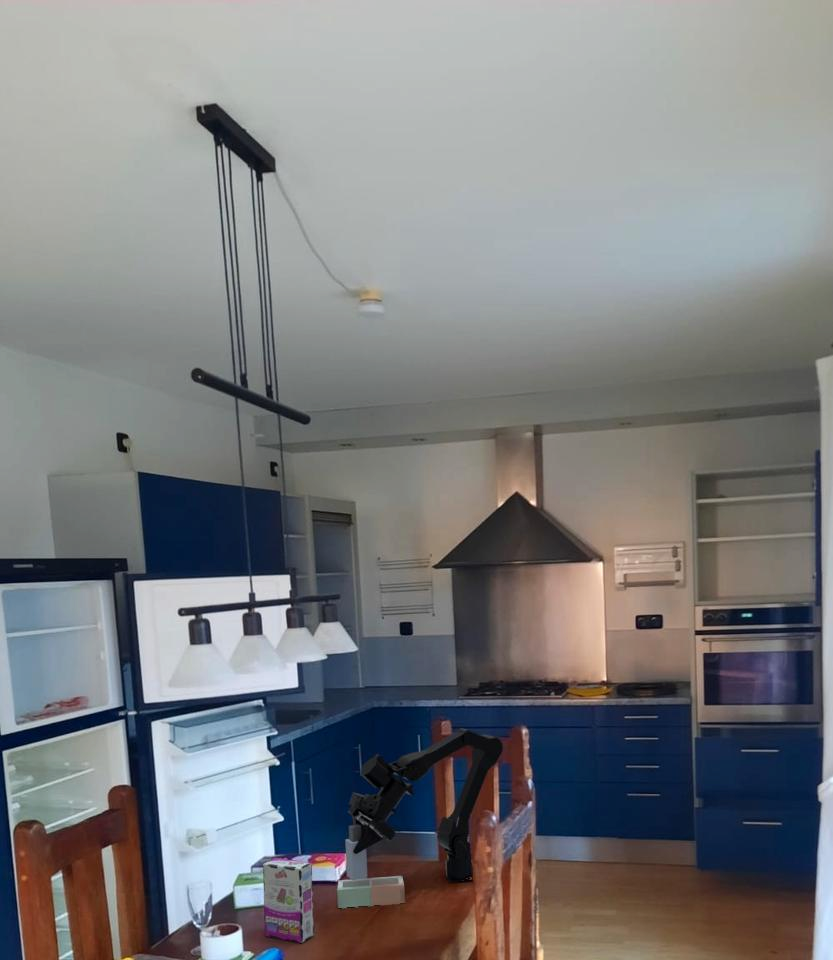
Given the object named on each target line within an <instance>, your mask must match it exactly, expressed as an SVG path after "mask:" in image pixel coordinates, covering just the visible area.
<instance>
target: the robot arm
mask: <svg viewBox="0 0 833 960" xmlns="http://www.w3.org/2000/svg"><path fill="white" fill-rule="evenodd" d="M466 746H467V747H470V748H472V749H471V759H472V761H471V767H470V769H469V771H468V774H467V776H466V778H465V781H464V783H463V786H462V789H461V791H460V794H459V797H458V799H457V801H456V804H455V806H454V809H453V812H452V813H450V815H449V816H448V817H447V816H442V818H441V821H440V824H439V826H438V828H437V829H436V831H437V836H436V837H437V841H438V843H439V845H440V846H441V847H442V848H443V851H444V852H445V853H447V854H446V855H447V856H446V857H447V858H446V859H445V871H446V872H445V874H446V878H447V879H448V880H449V883H458V882H459V881H462V880H469V879H470V878H469V877H472V881H471V882H473V881H474V880H473V878H474V877H473V865H472V864H473V862H472V863H471V860H472V857H471V854H470V844H471V843H470V842H469V841H468V840H469V836H470V818H471V816H470V814H471V815H472V814H473V812H474V808H475V806H476V804H477V801H478V799H479V795H480V793H481V790H482V788H483V785H484V783H485V781H486V777H487V775H488V773H489V771H490V769H492V768H493V767H494V766H495V765H496V764H497V763H498V761H499V759H500V758H501V755H502V754H503V752H504V751H503V750H504V746H503V743H502V740H501V739H500V738H497V737H494V736H491V735H488V734H477V733H475V732H472V730H469V729H466V728H458V729H457V730H455V732H453V733H451V734H450V735H448V736H446V737H445V738H443V739H441V740H439V741H437V742H435V743H434V744H432V745H430V746H429V747H427V748H426V749H423V750H421V751H420V750H419V751H414V752H411V753H408V754H405V755H402V756H400V757H398V759H397V760H395V761H394V762H390V763H388V762H387V761H385V759H384V757H382V756H381V755H380V754H377V753H376V754H375V755H374V757H371V758H369V759H368V760H367V761H366V762H365V763H364V764H363V765H362V767H361V769H360V775H361V776H362V777H363V778H364V779H365V780H366V781H368V782H369V783H370V784H371V785H372V786H373V787H374V788H375V789H379V788H381V789H380V790H379V792H378V793H377V794H375V793H372V795H369V794H368V793H365V794H364V795H363V794H360V793H358V792H357V793H356V792H355V791H353V792H352V793H351V797H350V799H349V802H348V805H349V806H350V807H349V809H348V810H347V812H348V813H349V815H351V819H352V823H353V824H352V825H355V824H358V825H360V826H361V838H360V839H359V841H358V843H357V845H356V846H355V848H354V850H353V852H354V853H355V854H358V853H359V852H361V851H363V850H364V849H366V850H367V849H368V848H370V847H371V846H373V845H375V844H377V843H379V842H380V841H381V842H382V841H384V838H383V837H385V839H386V840H387V841H389V842H392V841H393V840H394V839H395V837H396V829H394V827H392V826H391V825H390V824H389V823H388V822H387V819H388V818H389V817H390V816H391V815H392V814H393V815H395V814H396V812H397V810H396V807H397V806H398V804H399V803H400V802H401V800H402V799H403V797H404V796H405V795H406V794H407V795H409V796H413V797H414V794H415V792H414V788H413V787H414V784H412V783H410V782H417V781H419V780H420V779H422V778H423V777H424V776H425V775H426V774H427V773H428V772H429V771H430V770H431V768H432V767H433V766H434V765H435V764H437V763H439V762H440V761H442V760H443V759H445V758H448V757H449V756H451V755H452V754H454V753H456V752H457V751H459V750H462V748H464V747H466ZM394 775H395V776H397V777H395V776H394ZM402 778H403V779H405V780H407V781H410V782H409V783H407V782H406V781H404V780H403V779H402ZM466 878H468V879H466ZM462 882H463V881H462Z"/></svg>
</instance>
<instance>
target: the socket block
mask: <svg viewBox="0 0 833 960" xmlns="http://www.w3.org/2000/svg"><path fill="white" fill-rule="evenodd" d="M336 891H337V892H336V893H337V909H338V908H342V909H348V908H347V907H355V908H359V907H358V906H368V907H375V906H374V905H381V906H390V905H391V906H393V904H394V905H401V904H400V903H405V904H406V901H405V900H406V899H405V898H406V896H405V895H406V894H405V882H404V880H403V875H394V876H393V875H392V876H382V877H369V878H368V877H366V878H362V879H358V880H352V879H342V880H341V879H338V882H337V890H336Z"/></svg>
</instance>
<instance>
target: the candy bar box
mask: <svg viewBox="0 0 833 960" xmlns="http://www.w3.org/2000/svg"><path fill="white" fill-rule="evenodd" d="M312 866H313V863H312V862H309V861H308V862H307V861H301V860H295V859H294V860H292V859H285V858H277V857H275V858H272V859H270V860H268V861H266V862H264V863H263V864H262V872H263V873H262V874H263V877H262V879H263V912H264V913H263V915H264V918H263V919H264V920H263V921H264V936H265V937H268V938H273V939H278V940H282V941H283V940H284V941H288V942H294V943H300V944H303V943H305V942H307V941H308V940H309V939H311V938H312V937H314V936H315V932H314V931H315V930H314V929H315V926H314V896H313V867H312Z"/></svg>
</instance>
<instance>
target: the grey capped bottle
mask: <svg viewBox="0 0 833 960" xmlns="http://www.w3.org/2000/svg"><path fill="white" fill-rule="evenodd" d="M348 835H349V837H348V838H347V839H345V860H346V861H345V862H346V877H348V878H349V880H351V879H352V880H358V879H364V878H368V863H367V859H368V858H367V848H366V849H364V850H363V851H361V852H359V853H358V854H355V853H354V852H353V850H354V848H355V846H356V845H357V843H358V841H359V839H360V838H361V826H360V825H358V824H355V825H354V824H351V825H348Z"/></svg>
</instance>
